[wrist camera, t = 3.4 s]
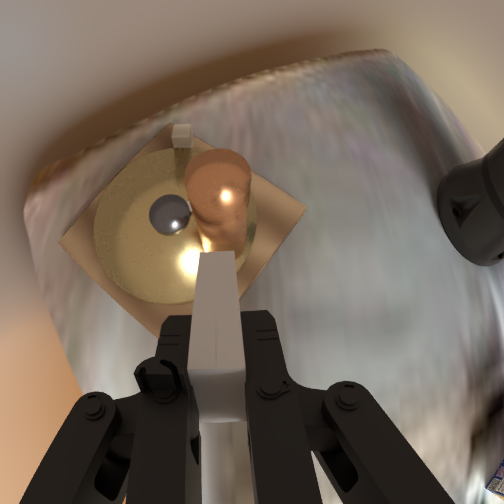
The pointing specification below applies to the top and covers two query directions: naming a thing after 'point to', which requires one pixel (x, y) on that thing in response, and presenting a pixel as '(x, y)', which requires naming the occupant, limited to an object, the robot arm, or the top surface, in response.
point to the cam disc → (174, 220)
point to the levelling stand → (264, 247)
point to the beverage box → (497, 482)
